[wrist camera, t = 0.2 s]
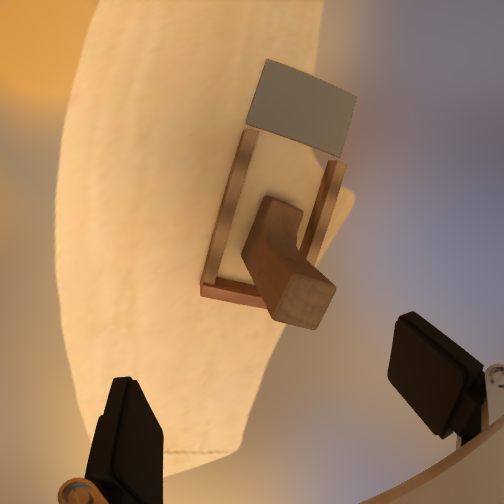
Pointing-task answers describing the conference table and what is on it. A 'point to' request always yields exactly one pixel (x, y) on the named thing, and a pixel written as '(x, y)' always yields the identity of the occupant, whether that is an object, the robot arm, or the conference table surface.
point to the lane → (209, 280)
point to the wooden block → (285, 267)
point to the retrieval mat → (301, 108)
